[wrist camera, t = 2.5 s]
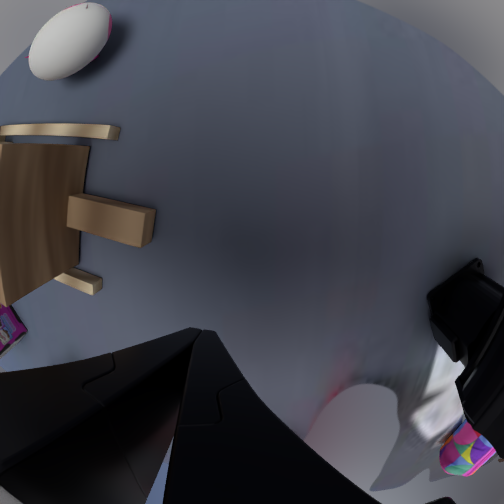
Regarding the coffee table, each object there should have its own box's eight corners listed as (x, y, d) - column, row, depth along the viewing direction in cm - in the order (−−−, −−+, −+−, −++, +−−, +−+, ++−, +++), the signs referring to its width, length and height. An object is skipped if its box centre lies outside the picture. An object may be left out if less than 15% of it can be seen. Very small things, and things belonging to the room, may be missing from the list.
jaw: (165, 156, 17) (85, 149, 9) (146, 287, 20) (82, 352, 12) (72, 144, 17) (-12, 144, 9) (63, 258, 20) (-8, 296, 12)
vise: (120, 127, 17) (35, 111, 9) (101, 288, 21) (36, 341, 12) (2, 126, 17) (-57, 128, 9) (-5, 241, 21) (-58, 263, 12)
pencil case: (514, 325, 19) (555, 364, 11) (538, 331, 19) (572, 362, 11) (427, 447, 26) (444, 490, 17) (462, 439, 26) (480, 475, 17)
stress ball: (123, -1, 14) (87, -34, 7) (137, 56, 15) (91, 24, 9) (60, 42, 15) (17, 24, 8) (66, 102, 17) (13, 92, 10)
